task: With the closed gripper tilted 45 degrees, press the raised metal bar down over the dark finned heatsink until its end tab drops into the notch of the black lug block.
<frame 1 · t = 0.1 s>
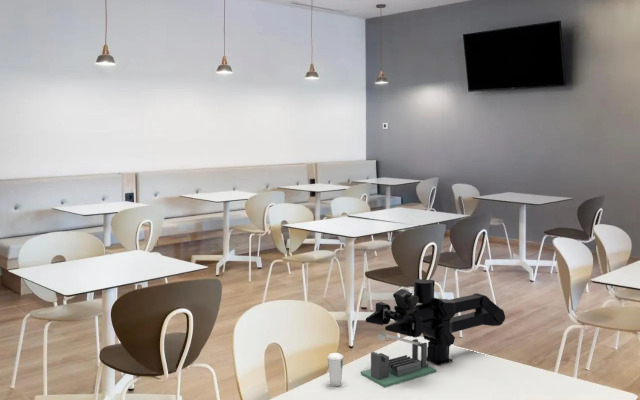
hand: (375, 324, 179), 17 cm above the table, tool horizontal, fingers open, 9 cm apart
board: (398, 373, 185), on the table
lug block: (379, 379, 181), resting on board
metal bar: (401, 341, 184), point 10 cm above the table, hinge at 22.0°
milkshake: (337, 385, 178), on the table
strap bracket: (419, 367, 189), resting on board
heatsink: (401, 372, 186), resting on board
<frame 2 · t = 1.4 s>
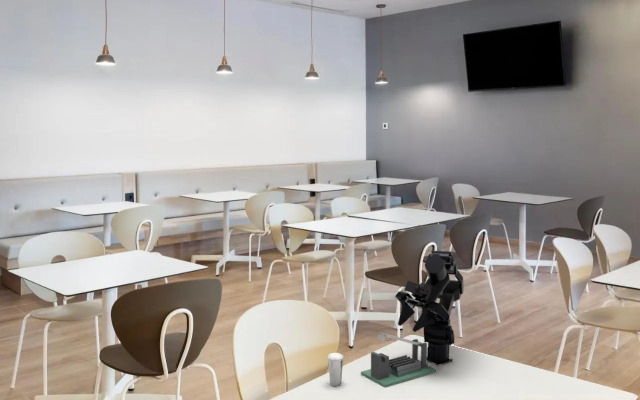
hand: (406, 328, 185), 14 cm above the table, tool tilted 45°, fingers open, 6 cm apart
nothing on the table moved.
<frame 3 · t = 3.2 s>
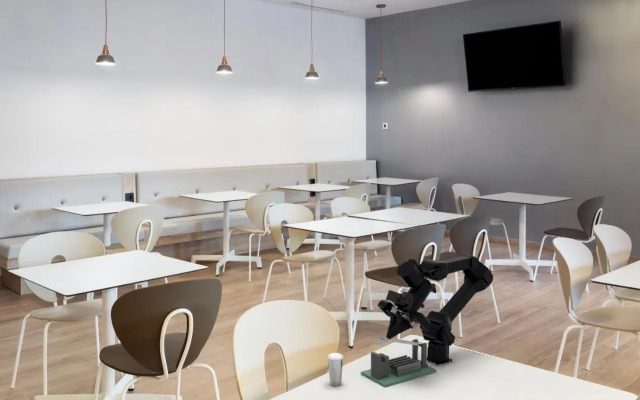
hand: (387, 338, 181), 12 cm above the table, tool tilted 45°, fingers closed, pressing on metal bar
metal bar: (400, 343, 184), point 9 cm above the table, hinge at 17.7°, touching gripper
everything else where it was.
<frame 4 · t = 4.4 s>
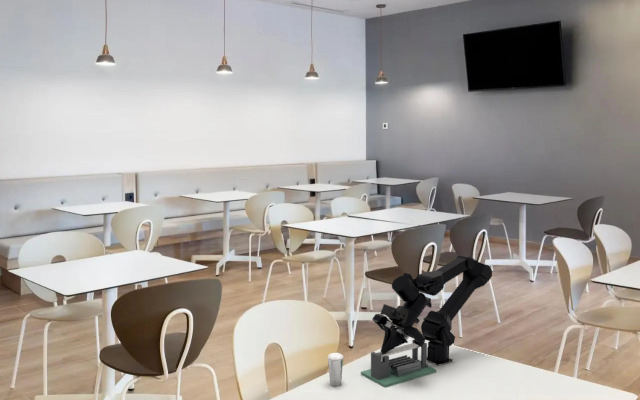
hand: (382, 352, 180), 8 cm above the table, tool tilted 45°, fingers closed, pressing on metal bar
metal bar: (400, 351, 184), point 7 cm above the table, hinge at -0.4°, touching gripper
everything else where it was.
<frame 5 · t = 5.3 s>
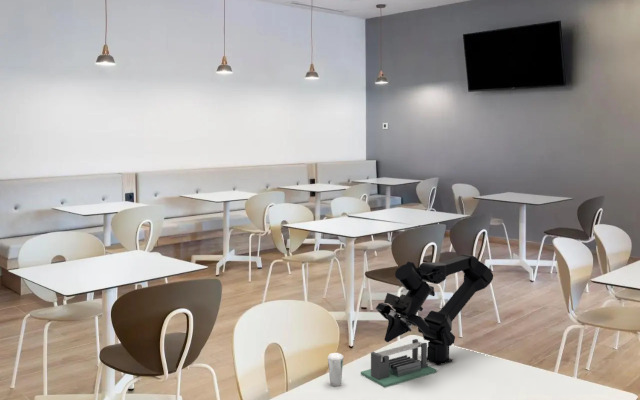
hand: (385, 341, 181), 11 cm above the table, tool tilted 45°, fingers closed
metal bar: (400, 351, 184), point 7 cm above the table, hinge at -0.4°
everything else where it was.
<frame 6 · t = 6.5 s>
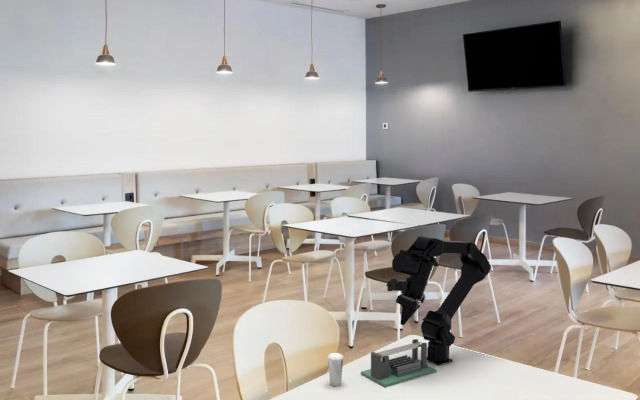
hand: (402, 324, 188), 14 cm above the table, tool tilted 20°, fingers closed
nothing on the table moved.
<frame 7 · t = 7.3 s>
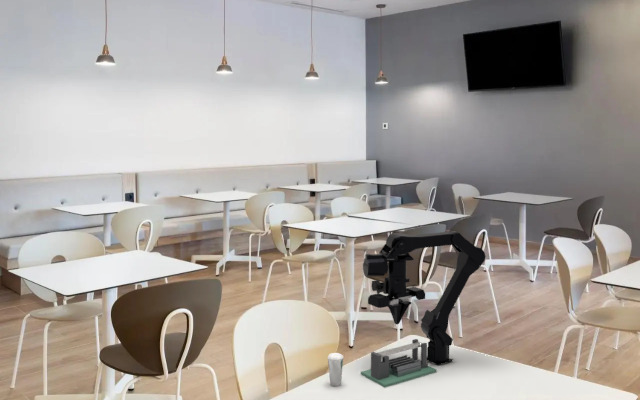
hand: (396, 324, 191), 13 cm above the table, tool pointing down, fingers closed
nothing on the table moved.
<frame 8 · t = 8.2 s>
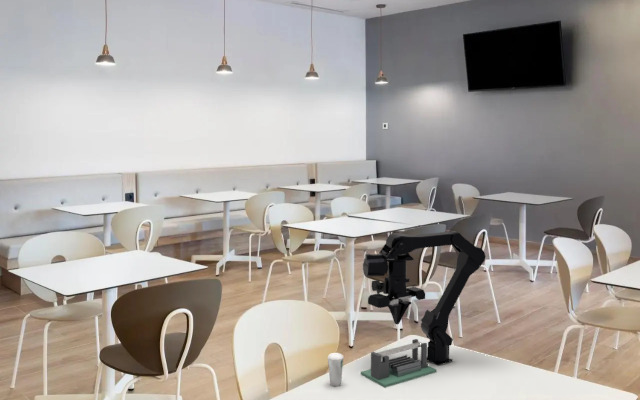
hand: (396, 324, 191), 13 cm above the table, tool pointing down, fingers closed
nothing on the table moved.
at the end: metal bar at +0° (first picture: +22°); milkshake moved 0.2 cm from its start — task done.
